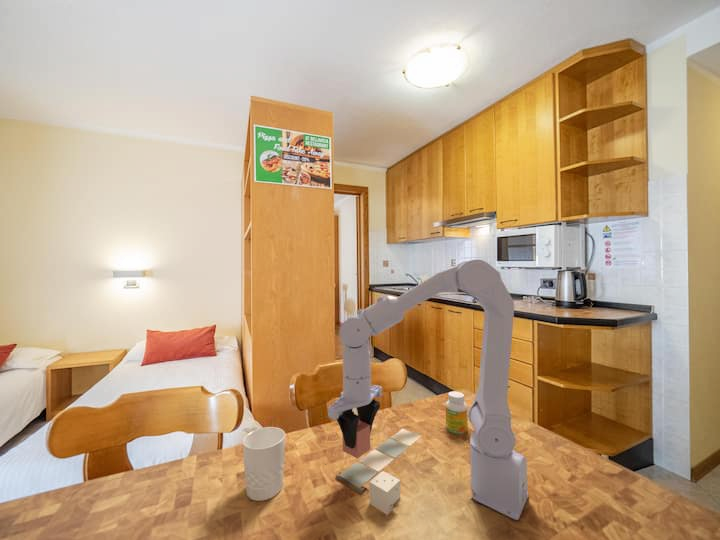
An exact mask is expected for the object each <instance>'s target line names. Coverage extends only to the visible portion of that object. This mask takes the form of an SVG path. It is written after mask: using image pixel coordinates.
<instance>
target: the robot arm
mask: <svg viewBox="0 0 720 540" xmlns="http://www.w3.org/2000/svg"><path fill="white" fill-rule="evenodd" d="M504 283H505V282H504V281H503V279H502V276H501V273H500V272H499V270H497V269H496V268H495V267H494V266H492V265H491V264H490V263H489V262H487V261H486V260H482V259H478V258H477V259H475V258H474V259H471V260H467V261H462V262H460V263H458V264H457V265H456V266H451V267H449V268H447V269H444V270H442V271H441V270H440V271H438V272H436V273H435V274H433V275H431V276H429V277H428V278H426V279H425V280H424V281H422V282H420V283H419V284H417V285H416V286H414V287H412V288H411V289H409V290H408V291H406V292H405V293H402V294H401V295H399V296H398V297H396V296H393V295H386V296H383V295H381V296H379V297H377V298H376V302H374V303H373V304H371V305H369V306H368V307H366V308H364V309H362V308H360V309H358V310H356V313H357V314H354V315H352V316H350V317H348V318H347V319H346V320H345V321H344V322H343V323H341V325H340V327H339V337H340V340H341V341H342V348H343V349H342V391H341V392H340V397H339V398H338V399H337V400H336V401H335V402H334V403H333V404H331V405H329V406H328V407H327V417H328V418H330V419H332V420H334V421H337V423H338V426H339V427H340V431H341V434H342V439H343V438H344V442H345V445H346V446H348V447H350V448H351V449H353V448H355V444H356V431H357V425H358V422H359V419H360V421H362V422H364V423H367V424H369V425H370V434H371V433H372V428H373V425H374V424H373V423H374V422H375V421H374V420H375V417H376V416H377V413H378V412H379V409H380V408H381V402H380V401H378V400H375V399H376V397H379V398H380V397H382V396H383V386H380V385H377V384H374V385H372V371H371V370H372V368H371V367H372V365H371V361H372V360H371V358H372V357H371V355H372V354H371V350H370V349H371V348H370V347H371V346H370V337H371V336H377V335H379V334H381V333H382V332H384V331H386V330H388V329H389V328H391V327H393V326H395V325H397V324H399V323H400V322H402V321H403V320H404V318H405V313H406V312H407V311H408V310H410V309H412V308H414V307H416V306H417V305H419V304H421V303H424V302H426V301H427V300H428V299H431V298H433V297H435V296H437V295H439V294H440V293H459V290H460V291H461V292H463V293H465V294H467V295H469V296H471V298H472V299H473V300H475V302H476V303H478V305H479V306H480V307H481V308H482V309H483V310H484V311H483V312H484V314H483V326H482V336H481V337H482V338H481V339H482V340H481V350H480V363H479V375H478V376H479V377H478V389H477V391H475V394H474V400H473V402H472V404H471V406H470V408H469V410H468V418H469V419H468V420H469V422H470V424H471V425H472V428H473V432H472V434H471V436H470V439H469V450H470V451H469V452H470V453H469V455H470V457H469V458H470V465H469V466H470V488H471V490H472V492H473V494H472V496H471V499H472V500H473V501H476V502H478V503H480V504H482V505H484V506H486V507H488V508H489V509H490V508H491V509H492V510H495V511H496V512H498V513H501V514H503V515H504V516H506V517H509V518H511V519H512V520H515V521H519V519H520V516H521V514H522V512H523V510H524V507H525V504H526V502H527V500H528V497H529V492H528V462H527V458H526V456H525V455H522V454H520V453H519V452H517V451H516V450H514V448H515V446H516V436H515V434H514V431H513V428H512V424H511V423H512V415H511V412H510V406H509V403H508V390H509V378H510V366H511V353H512V340H513V328H514V327H513V326H514V316H515V302H514V299H513V298H512V296H511V294H510V292H509V290H508V289H507V287H506V285H505V284H504ZM354 409H356V411H357V414H356V413H355V411H353V410H354Z"/></svg>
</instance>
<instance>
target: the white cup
mask: <svg viewBox="0 0 720 540" xmlns="http://www.w3.org/2000/svg"><path fill="white" fill-rule="evenodd" d="M285 447H286V432H285V430H284V429H282V428H280V427H277V426H276V427H275V426H266V427H265V426H264V427H260V428H256V429H254V430H252V431H251V432H249V433H248V434H246V435H245V436H244V437H243V439H242V450H243V454H242V455H243V466H244V467H243V468H244V471H243V472H244V478H245V487H246V488H245V489H246V490H245V491H246V496H247V497H248V498H249V499H250V500H252V501H256V502H261V501H267V500H270V499H272V498H274V497H275V496H277V495H278V494H279V493H280V492H281V490H282V488H283V485H284V479H283V478H284V468H285V449H286V448H285Z"/></svg>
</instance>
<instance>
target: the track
mask: <svg viewBox="0 0 720 540" xmlns="http://www.w3.org/2000/svg"><path fill="white" fill-rule="evenodd" d="M420 438H422V435H419V434H417V433H415V432H412V431H410V430H407V429H405V428H402V429H400V430H398V432H396V433H394V434H393V435H392V436H390V438H387V439H386V440H385V441H383V442H382V443H381V444H380V445H378V446H377V447H376V448H375V447H374V448H375V449H372V450H371V451H370V452H369V453H367V454H365V455H364V456H363V457H361V458H360V459H359V460H358V461H356V462H355V463H354V464H352V465H351V466H350V467H348V468H346V469H345V470H344V471H341V472H338V473H337V474H335V479H336V480H337V481H340V482H341V483H342V484H344V485H346V486H347V487H349V488H351V489H352V490H354V491H355V492H356V493H358V494H360V495H363V494H364V493H365V492H366V491H368V488H366V487H364V485H365V484H366V483H368V481H369V482H370V481H371V480H372V479H373V478H374V476H375V477H376V476H377V475H378V473H380V472H382V471H383V469H385V467H387V466H388V465H389V464H390V463H392V462H393V461H394V460H395V459H397V457H399V456H400V455H401V454H402V453H403V452H404V451H406V450H407V449H408V448H409V447H411V446H412V445H413V444H414V443H416V441H418V440H419V439H420Z"/></svg>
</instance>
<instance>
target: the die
mask: <svg viewBox="0 0 720 540" xmlns="http://www.w3.org/2000/svg"><path fill="white" fill-rule="evenodd" d="M368 485H369V490H368V491H369V504H370V505H371V506H373V508H374V507H375V508H376V509H377V510H379V512H382V513H384V514H385V515H386V516H388V515H389V514H390V513H391V512H392V511H393V510H394V509H395V508H396V507H397V506H396V505H394V504H396V502H397V501H398V500H399V499H400V498H401V479H399V478H397V477H395V476H393V475H392V474H390V473H387V472H386V471H384V470H381V471H380V472H378V473H377V474H376V475H375V477H372V478H371V479H370V480H369V484H368Z"/></svg>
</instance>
